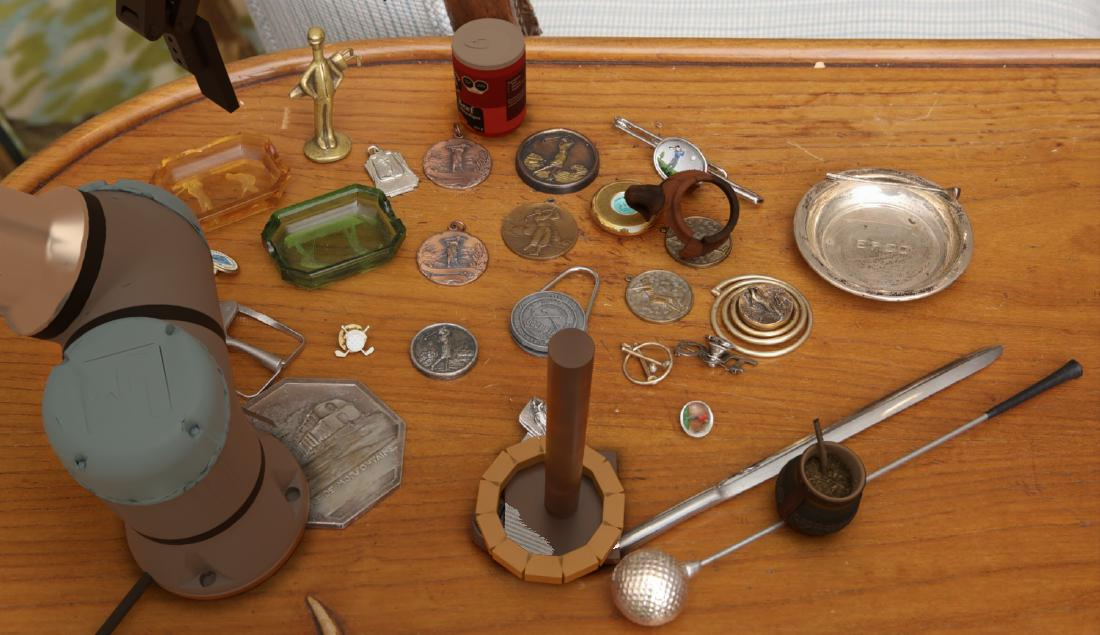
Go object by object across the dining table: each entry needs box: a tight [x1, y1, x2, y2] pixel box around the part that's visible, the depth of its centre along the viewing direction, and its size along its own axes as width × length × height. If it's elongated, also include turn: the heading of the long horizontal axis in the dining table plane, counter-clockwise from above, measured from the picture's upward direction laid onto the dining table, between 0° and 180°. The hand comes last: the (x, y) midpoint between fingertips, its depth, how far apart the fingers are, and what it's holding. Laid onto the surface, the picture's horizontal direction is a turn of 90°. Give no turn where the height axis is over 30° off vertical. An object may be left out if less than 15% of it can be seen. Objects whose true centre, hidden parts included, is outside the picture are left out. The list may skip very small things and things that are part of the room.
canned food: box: [450, 17, 527, 138], centre depth 103 cm, size 8×8×11 cm
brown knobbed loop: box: [623, 169, 741, 260], centre depth 97 cm, size 12×10×8 cm
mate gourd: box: [774, 417, 868, 538], centre depth 78 cm, size 7×8×10 cm
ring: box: [474, 434, 626, 585], centre depth 79 cm, size 13×13×2 cm
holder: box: [503, 327, 621, 565], centre depth 70 cm, size 10×10×28 cm
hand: (301, 43), depth 60 cm, fingers open, 13 cm apart
